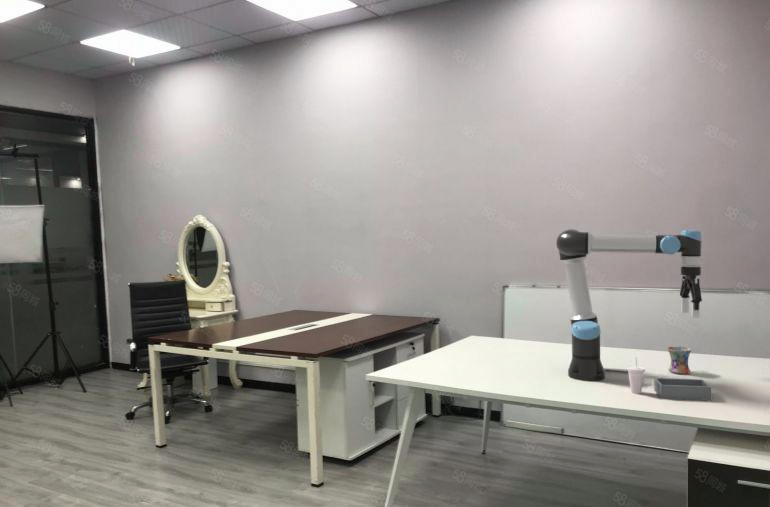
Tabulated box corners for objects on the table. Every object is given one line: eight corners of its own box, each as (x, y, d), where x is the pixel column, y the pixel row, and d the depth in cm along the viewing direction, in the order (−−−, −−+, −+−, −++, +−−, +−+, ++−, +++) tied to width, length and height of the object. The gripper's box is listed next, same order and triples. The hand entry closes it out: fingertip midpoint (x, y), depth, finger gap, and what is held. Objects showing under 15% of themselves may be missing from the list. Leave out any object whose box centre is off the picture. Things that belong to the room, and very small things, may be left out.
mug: (689, 376, 239) (689, 352, 239) (665, 373, 245) (665, 349, 244) (694, 370, 248) (694, 346, 248) (671, 367, 254) (671, 344, 254)
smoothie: (627, 394, 216) (627, 358, 216) (626, 389, 222) (626, 354, 222) (645, 395, 214) (645, 359, 214) (644, 390, 220) (644, 355, 220)
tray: (660, 398, 210) (660, 385, 210) (654, 390, 220) (654, 378, 220) (711, 400, 206) (711, 386, 206) (702, 392, 216) (702, 379, 216)
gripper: (711, 268, 226) (710, 320, 227) (690, 264, 250) (689, 310, 251) (691, 268, 228) (690, 319, 229) (672, 264, 252) (671, 310, 253)
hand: (690, 315), depth 240 cm, fingers open, 13 cm apart
